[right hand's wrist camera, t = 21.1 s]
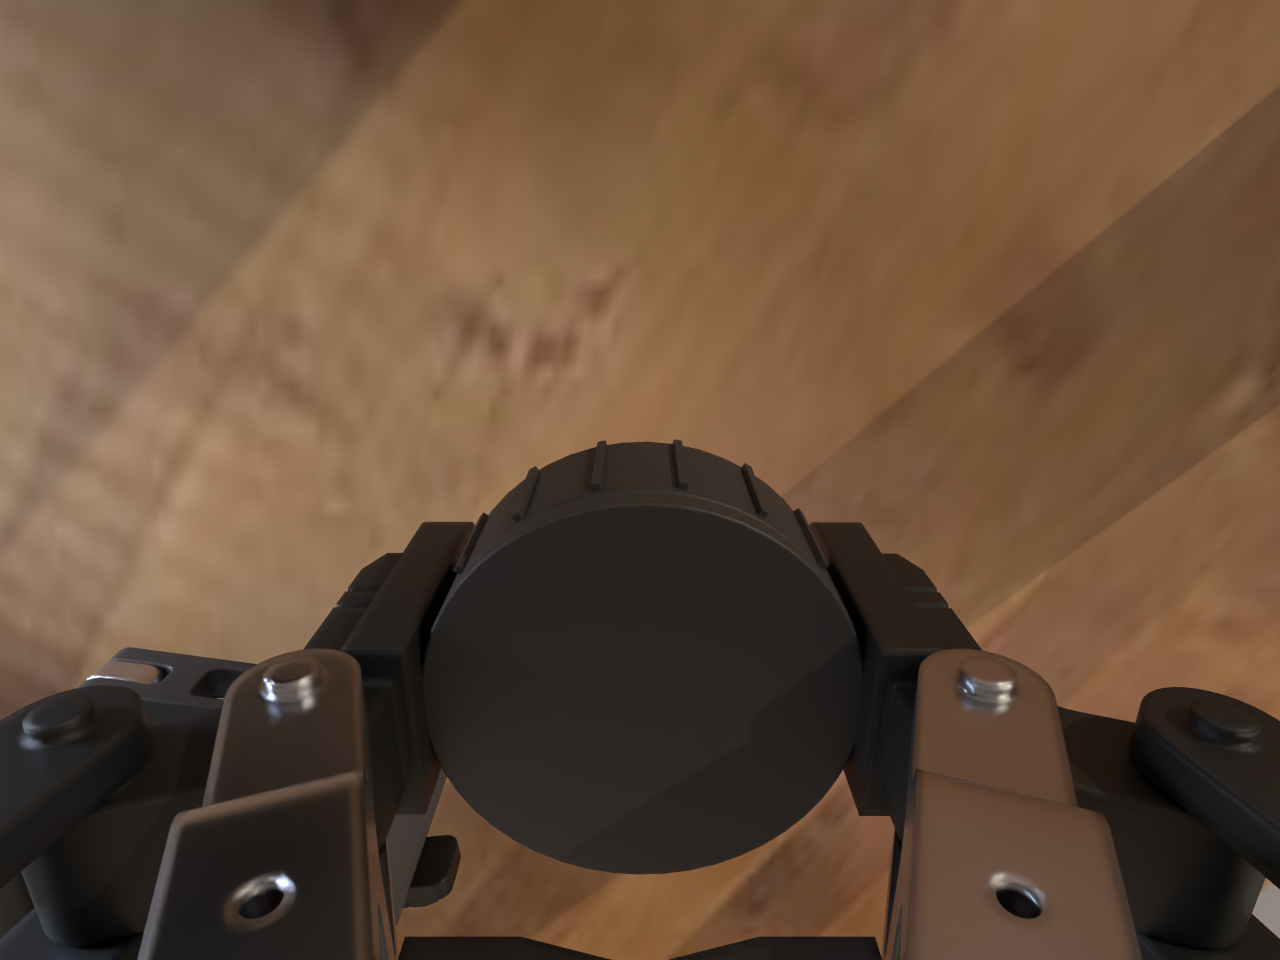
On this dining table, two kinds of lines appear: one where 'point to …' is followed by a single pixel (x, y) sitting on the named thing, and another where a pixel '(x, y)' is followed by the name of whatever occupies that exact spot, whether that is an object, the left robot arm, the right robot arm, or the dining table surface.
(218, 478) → the dining table surface
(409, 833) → the bottle
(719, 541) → the lid
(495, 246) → the dining table surface
